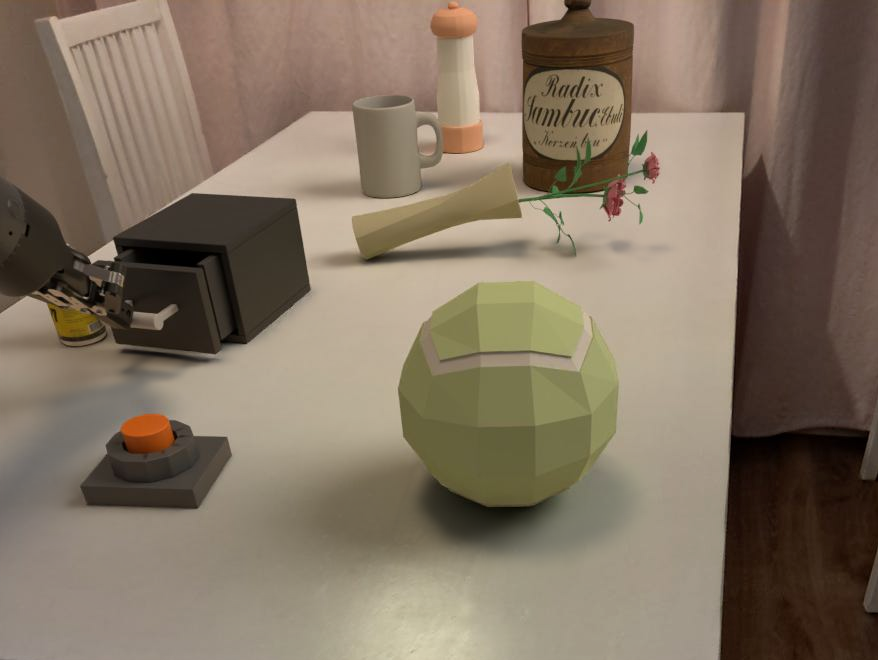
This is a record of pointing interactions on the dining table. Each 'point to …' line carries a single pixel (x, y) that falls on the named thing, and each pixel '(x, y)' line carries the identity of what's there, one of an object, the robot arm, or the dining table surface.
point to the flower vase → (485, 205)
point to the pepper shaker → (457, 79)
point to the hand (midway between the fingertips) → (125, 318)
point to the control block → (158, 472)
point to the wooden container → (576, 98)
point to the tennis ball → (509, 394)
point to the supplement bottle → (76, 326)
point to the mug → (392, 145)
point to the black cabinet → (236, 250)
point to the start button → (147, 433)
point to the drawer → (175, 299)
